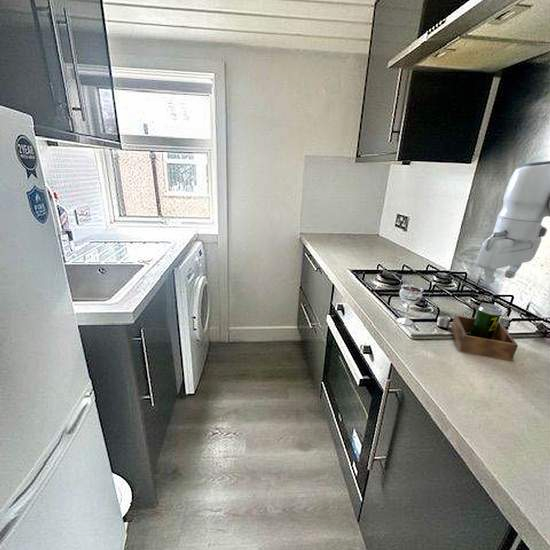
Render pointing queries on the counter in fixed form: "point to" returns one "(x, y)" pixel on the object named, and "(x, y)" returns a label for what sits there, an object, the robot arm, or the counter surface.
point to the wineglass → (409, 299)
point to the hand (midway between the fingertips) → (498, 280)
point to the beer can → (486, 321)
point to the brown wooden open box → (483, 340)
